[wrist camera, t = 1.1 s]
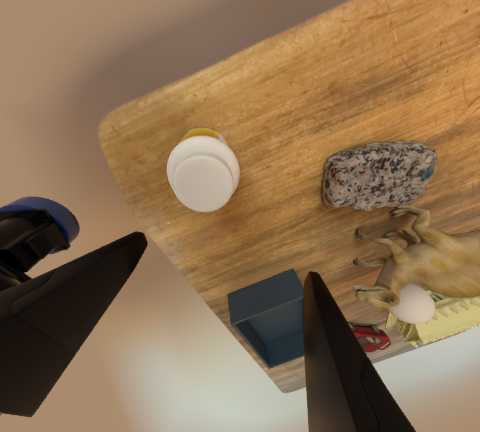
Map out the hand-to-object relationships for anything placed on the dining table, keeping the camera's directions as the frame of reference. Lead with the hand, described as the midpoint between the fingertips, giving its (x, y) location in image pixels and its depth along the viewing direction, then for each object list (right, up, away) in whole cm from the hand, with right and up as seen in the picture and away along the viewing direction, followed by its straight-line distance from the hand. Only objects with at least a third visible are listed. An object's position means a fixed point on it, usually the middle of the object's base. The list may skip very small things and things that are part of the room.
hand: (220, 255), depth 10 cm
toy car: (+33, -29, +40) cm, 59 cm away
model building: (+53, -20, +39) cm, 68 cm away
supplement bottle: (-3, +9, +11) cm, 15 cm away
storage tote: (+9, -18, +29) cm, 36 cm away
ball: (+35, -14, +32) cm, 49 cm away
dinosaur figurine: (+27, +1, +22) cm, 35 cm away
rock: (+18, +8, +16) cm, 25 cm away
